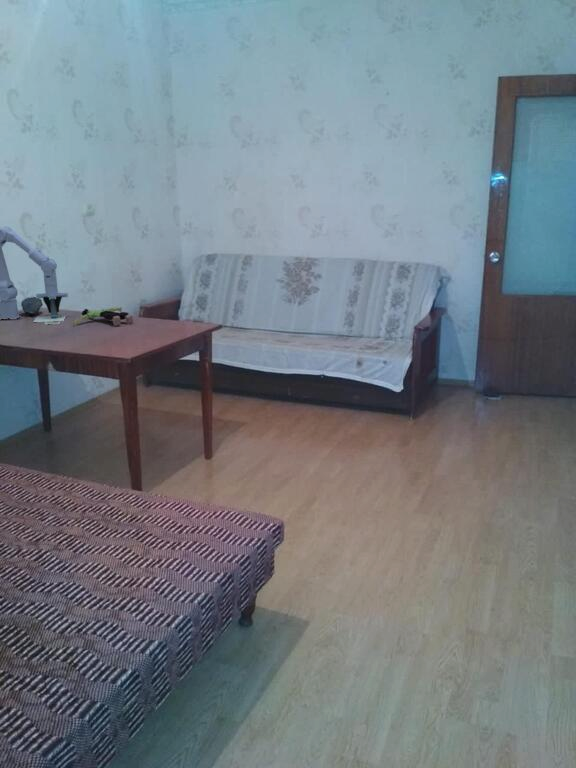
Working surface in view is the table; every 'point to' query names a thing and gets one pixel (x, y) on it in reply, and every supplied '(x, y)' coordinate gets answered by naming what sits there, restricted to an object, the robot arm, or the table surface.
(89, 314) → the toy
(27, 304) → the rock
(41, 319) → the paper
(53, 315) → the marker
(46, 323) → the plate
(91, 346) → the table surface
